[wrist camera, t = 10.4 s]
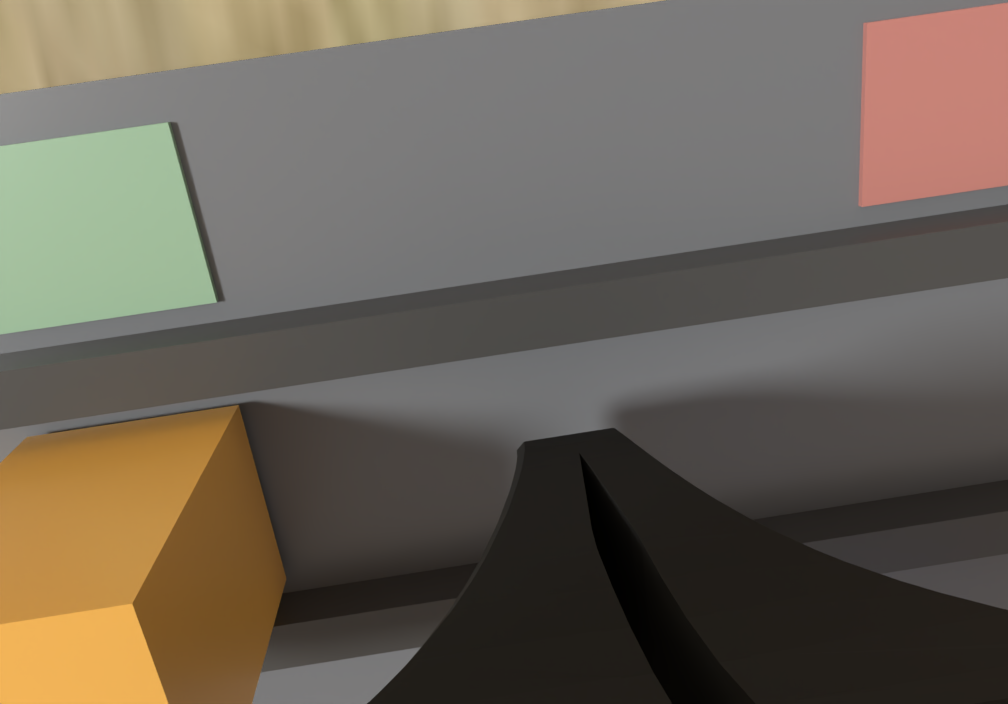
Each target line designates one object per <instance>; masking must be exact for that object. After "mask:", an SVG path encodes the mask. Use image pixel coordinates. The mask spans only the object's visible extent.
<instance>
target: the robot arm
mask: <svg viewBox="0 0 1008 704" xmlns="http://www.w3.org/2000/svg"><path fill="white" fill-rule="evenodd" d="M367 704H1008V610H1006V609H1002V608H998V607H994V606H990V605H986V604H982V603H979V602H975V601H971V600H967V599H963V598H959V597H955V596H951V595H947V594H943V593H940V592H936V591H933V590H930V589H926V588H923V587H920V586H916V585H913V584H909V583H906V582H903V581H900V580H897V579H894V578H891V577H888V576H885V575H882V574H879V573H876V572H874V571H871V570H868V569H865V568H862V567H859V566H857V565H854V564H851V563H848V562H845V561H843V560H840V559H838V558H835V557H832V556H830V555H827V554H825V553H822V552H820V551H818V550H815V549H813V548H811V547H809V546H806V545H804V544H802V543H800V542H798V541H795V540H793V539H791V538H789V537H787V536H784V535H782V534H780V533H778V532H776V531H773V530H771V529H769V528H767V527H765V526H763V525H761V524H759V523H757V522H756V521H754V520H752V519H750V518H748V517H746V516H745V515H743V514H741V513H739V512H738V511H736V510H734V509H732V508H731V507H729V506H727V505H725V504H724V503H722V502H720V501H718V500H716V499H715V498H713V497H712V496H710V495H708V494H707V493H705V492H704V491H702V490H700V489H699V488H697V487H696V486H694V485H693V484H691V483H690V482H688V481H687V480H685V479H684V478H682V477H681V476H679V475H678V474H676V473H675V472H673V471H672V470H670V469H669V468H668V467H666V466H665V465H663V464H662V463H661V462H659V461H658V460H657V459H655V458H654V457H653V456H651V455H650V454H649V453H647V452H646V451H645V450H643V449H642V448H641V447H639V446H638V445H637V444H635V443H634V442H633V441H631V440H630V439H629V438H627V437H626V436H625V435H623V434H622V433H621V432H619V431H618V430H617V429H615V428H608V429H602V430H595V431H589V432H582V433H576V434H570V435H563V436H557V437H550V438H544V439H537V440H531V441H525V442H523V444H522V445H521V446H520V447H519V448H518V450H517V463H516V469H515V473H514V477H513V481H512V484H511V488H510V491H509V494H508V497H507V499H506V502H505V505H504V507H503V510H502V513H501V516H500V518H499V521H498V523H497V525H496V528H495V530H494V532H493V534H492V536H491V538H490V540H489V542H488V544H487V546H486V548H485V550H484V552H483V555H482V557H481V559H480V561H479V562H478V564H477V566H476V568H475V570H474V571H473V573H472V575H471V577H470V578H469V580H468V582H467V583H466V585H465V587H464V588H463V590H462V591H461V593H460V594H459V596H458V598H457V599H456V601H455V602H454V604H453V605H452V607H451V608H450V610H449V611H448V612H447V614H446V615H445V616H444V618H443V619H442V620H441V622H440V623H439V624H438V626H437V627H436V628H435V630H434V631H433V632H432V634H431V635H430V636H429V638H428V639H427V640H426V642H425V643H424V644H423V645H422V647H421V648H420V649H419V650H418V651H417V653H416V654H415V655H414V656H413V657H412V658H411V660H410V661H409V662H408V663H407V664H406V665H405V666H404V668H403V669H402V670H401V671H400V672H399V673H398V674H397V675H396V676H395V677H394V678H393V679H392V680H391V681H390V682H389V683H388V684H387V685H386V686H385V687H384V688H383V689H382V690H381V691H380V692H379V693H378V694H377V695H376V696H375V697H374V698H373V699H372V700H371V701H369V702H368V703H367Z"/></svg>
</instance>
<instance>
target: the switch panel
mask: <svg viewBox="0 0 1008 704" xmlns="http://www.w3.org/2000/svg"><path fill="white" fill-rule="evenodd" d="M235 405H239V408H240V412H241V415H242V419H243V422H244V426H245V430H246V433H247V437H248V441H249V444H250V448H251V451H252V455H253V459H254V462H255V466H256V470H257V473H258V477H259V481H260V484H261V488H262V491H263V495H264V499H265V502H266V506H267V510H268V513H269V517H270V520H271V524H272V528H273V531H274V535H275V539H276V542H277V546H278V550H279V553H280V557H281V560H282V564H283V568H284V571H285V575H286V582H285V586H284V589H283V593H282V597H281V600H280V604H279V608H278V611H277V615H276V618H275V622H274V626H273V629H272V633H271V637H270V640H269V644H268V647H267V651H266V655H265V658H264V662H263V666H262V669H261V673H260V676H259V680H258V684H257V687H256V691H255V695H254V698H253V702H252V704H367V703H368V702H369V701H371V700H372V699H373V698H374V697H375V696H376V695H377V694H378V693H379V692H380V691H381V690H382V689H383V688H384V687H385V686H386V685H387V684H388V683H389V682H390V681H391V680H392V679H393V678H394V677H395V676H396V675H397V674H398V673H399V672H400V671H401V670H402V669H403V668H404V666H405V665H406V664H407V663H408V662H409V661H410V660H411V658H412V657H413V656H414V655H415V654H416V653H417V651H418V650H419V649H420V648H421V647H422V645H423V644H424V643H425V642H426V640H427V639H428V638H429V636H430V635H431V634H432V632H433V631H434V630H435V628H436V627H437V626H438V624H439V623H440V622H441V620H442V619H443V618H444V616H445V615H446V614H447V612H448V611H449V610H450V608H451V607H452V605H453V604H454V602H455V601H456V599H457V598H458V596H459V594H460V593H461V591H462V590H463V588H464V587H465V585H466V583H467V582H468V580H469V578H470V577H471V575H472V573H473V571H474V570H475V568H476V566H477V564H478V562H479V561H480V559H481V557H482V555H483V552H484V550H485V548H486V546H487V544H488V542H489V540H490V538H491V536H492V534H493V532H494V530H495V528H496V525H497V523H498V521H499V518H500V516H501V513H502V510H503V507H504V505H505V502H506V499H507V497H508V494H509V491H510V488H511V484H512V481H513V477H514V473H515V469H516V463H517V450H518V448H519V447H520V446H521V445H522V444H523V442H525V441H531V440H537V439H544V438H550V437H557V436H563V435H570V434H576V433H582V432H589V431H595V430H602V429H608V428H615V429H617V430H618V431H619V432H621V433H622V434H623V435H625V436H626V437H627V438H629V439H630V440H631V441H633V442H634V443H635V444H637V445H638V446H639V447H641V448H642V449H643V450H645V451H646V452H647V453H649V454H650V455H651V456H653V457H654V458H655V459H657V460H658V461H659V462H661V463H662V464H663V465H665V466H666V467H668V468H669V469H670V470H672V471H673V472H675V473H676V474H678V475H679V476H681V477H682V478H684V479H685V480H687V481H688V482H690V483H691V484H693V485H694V486H696V487H697V488H699V489H700V490H702V491H704V492H705V493H707V494H708V495H710V496H712V497H713V498H715V499H716V500H718V501H720V502H722V503H724V504H725V505H727V506H729V507H731V508H732V509H734V510H736V511H738V512H739V513H741V514H743V515H745V516H746V517H748V518H750V519H752V520H754V521H756V522H757V523H759V524H761V525H763V526H765V527H767V528H769V529H771V530H773V531H776V532H778V533H780V534H782V535H784V536H787V537H789V538H791V539H793V540H795V541H798V542H800V543H802V544H804V545H806V546H809V547H811V548H813V549H815V550H818V551H820V552H822V553H825V554H827V555H830V556H832V557H835V558H838V559H840V560H843V561H845V562H848V563H851V564H854V565H857V566H859V567H862V568H865V569H868V570H871V571H874V572H876V573H879V574H882V575H885V576H888V577H891V578H894V579H897V580H900V581H903V582H906V583H909V584H913V585H916V586H920V587H923V588H926V589H930V590H933V591H936V592H940V593H943V594H947V595H951V596H955V597H959V598H963V599H967V600H971V601H975V602H979V603H982V604H986V605H990V606H994V607H998V608H1002V609H1006V610H1008V0H666V1H659V2H652V3H645V4H638V5H631V6H623V7H616V8H609V9H602V10H595V11H588V12H581V13H574V14H567V15H560V16H552V17H545V18H538V19H531V20H524V21H517V22H510V23H503V24H496V25H489V26H482V27H474V28H467V29H460V30H453V31H446V32H439V33H432V34H425V35H418V36H411V37H404V38H396V39H389V40H382V41H375V42H368V43H361V44H354V45H347V46H340V47H333V48H326V49H318V50H311V51H304V52H297V53H290V54H283V55H276V56H269V57H262V58H255V59H248V60H240V61H233V62H226V63H219V64H212V65H205V66H198V67H191V68H184V69H177V70H169V71H162V72H155V73H148V74H141V75H134V76H127V77H120V78H113V79H106V80H99V81H91V82H84V83H77V84H70V85H63V86H56V87H49V88H42V89H35V90H28V91H21V92H13V93H6V94H0V463H1V462H2V461H3V460H4V459H5V458H6V457H7V456H8V455H9V454H10V453H11V452H12V451H13V450H14V449H15V448H16V447H17V446H18V445H19V444H20V443H21V442H22V441H23V440H24V439H25V438H26V437H30V436H36V435H43V434H49V433H56V432H63V431H69V430H76V429H83V428H89V427H96V426H102V425H109V424H116V423H122V422H129V421H135V420H142V419H149V418H155V417H162V416H169V415H175V414H182V413H188V412H195V411H202V410H208V409H215V408H222V407H228V406H235Z"/></svg>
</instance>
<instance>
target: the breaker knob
mask: <svg viewBox="0 0 1008 704" xmlns="http://www.w3.org/2000/svg"><path fill="white" fill-rule="evenodd" d="M285 582H286V575H285V571H284V568H283V564H282V560H281V557H280V553H279V550H278V546H277V542H276V539H275V535H274V531H273V528H272V524H271V520H270V517H269V513H268V510H267V506H266V502H265V499H264V495H263V491H262V488H261V484H260V481H259V477H258V473H257V470H256V466H255V462H254V459H253V455H252V451H251V448H250V444H249V441H248V437H247V433H246V430H245V426H244V422H243V419H242V415H241V412H240V408H239V405H235V406H228V407H222V408H215V409H208V410H202V411H195V412H188V413H182V414H175V415H169V416H162V417H155V418H149V419H142V420H135V421H129V422H122V423H116V424H109V425H102V426H96V427H89V428H83V429H76V430H69V431H63V432H56V433H49V434H43V435H36V436H30V437H26V438H25V439H24V440H23V441H22V442H21V443H20V444H19V445H18V446H17V447H16V448H15V449H14V450H13V451H12V452H11V453H10V454H9V455H8V456H7V457H6V458H5V459H4V460H3V461H2V462H1V463H0V704H252V702H253V698H254V695H255V691H256V687H257V684H258V680H259V676H260V673H261V669H262V666H263V662H264V658H265V655H266V651H267V647H268V644H269V640H270V637H271V633H272V629H273V626H274V622H275V618H276V615H277V611H278V608H279V604H280V600H281V597H282V593H283V589H284V586H285Z"/></svg>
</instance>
